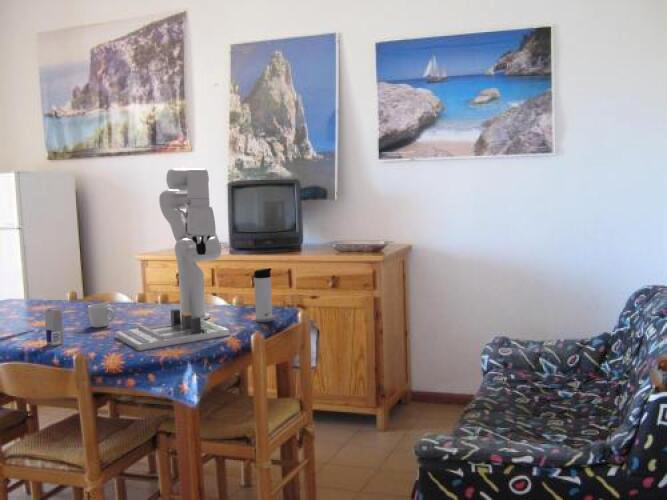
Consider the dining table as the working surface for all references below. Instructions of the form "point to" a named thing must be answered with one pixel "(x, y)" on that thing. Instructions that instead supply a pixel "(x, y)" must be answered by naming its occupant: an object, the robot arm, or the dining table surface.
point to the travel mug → (263, 295)
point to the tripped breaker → (186, 320)
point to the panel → (171, 333)
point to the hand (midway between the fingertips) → (201, 254)
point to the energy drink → (54, 326)
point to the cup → (100, 315)
